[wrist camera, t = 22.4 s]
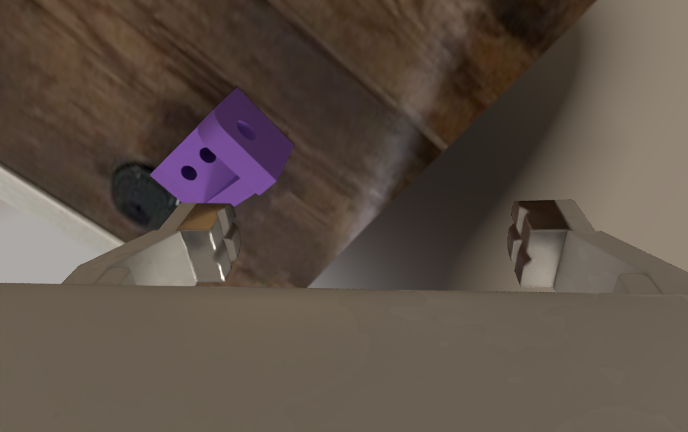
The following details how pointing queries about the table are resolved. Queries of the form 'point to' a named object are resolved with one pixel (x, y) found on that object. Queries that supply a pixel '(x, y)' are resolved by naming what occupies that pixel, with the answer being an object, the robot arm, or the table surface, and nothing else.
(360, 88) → the table surface
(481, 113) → the table surface
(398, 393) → the robot arm
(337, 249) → the table surface
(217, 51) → the table surface
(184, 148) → the bracket
